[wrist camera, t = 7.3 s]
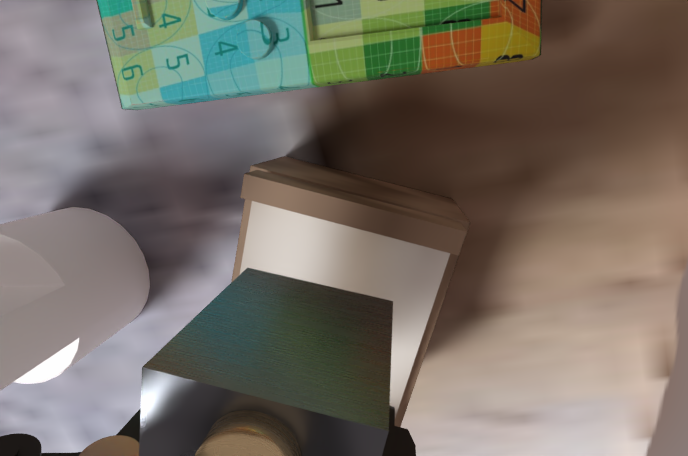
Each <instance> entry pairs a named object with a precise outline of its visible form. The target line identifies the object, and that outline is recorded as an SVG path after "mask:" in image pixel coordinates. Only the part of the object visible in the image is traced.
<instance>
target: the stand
mask: <svg viewBox="0 0 688 456" xmlns="http://www.w3.org/2000/svg"><path fill="white" fill-rule="evenodd" d="M240 198H243V199H245V203H244V209H243V215H242V221H241V227H240V234H239V240H238V246H237V252H236V258H235V264H234V270H233V276H232V282H233V281H234V280H235V279H236V278H237V277H238V276H239V275H240V274H241V273H242V272H243V271H244V270H245V269H246V268H252V269H256V270H260V271H265V272H269V273H273V274H278V275H282V276H286V277H291V278H295V279H299V280H304V281H308V282H312V283H317V284H321V285H326V286H330V287H334V288H339V289H343V290H347V291H352V292H356V293H360V294H365V295H369V296H373V297H378V298H382V299H386V300H391V301H393V320H392V349H391V378H390V406H393V407H394V408H395V426H397V427H400V426H401V423H402V420H403V417H404V414H405V411H406V409H407V406H408V403H409V400H410V397H411V394H412V391H413V388H414V385H415V382H416V379H417V376H418V374H419V371H420V368H421V365H422V362H423V359H424V356H425V353H426V350H427V347H428V344H429V341H430V339H431V336H432V333H433V330H434V327H435V324H436V321H437V318H438V315H439V312H440V309H441V306H442V304H443V301H444V298H445V295H446V292H447V289H448V286H449V283H450V280H451V277H452V274H453V271H454V268H455V266H456V263H457V260H458V257H459V254H460V251H461V248H462V245H463V242H464V239H465V236H466V233H467V231H468V228H469V225H470V221H469V220H468V219H467V218H466V216H465V215H464V214H463V212H462V211H461V210H460V208H459V207H458V206H457V204H456V203H455V202H454V200H453V199H450V198H446V197H442V196H438V195H435V194H431V193H427V192H423V191H419V190H415V189H411V188H407V187H403V186H399V185H395V184H391V183H388V182H384V181H380V180H376V179H372V178H368V177H364V176H360V175H356V174H352V173H348V172H344V171H341V170H337V169H333V168H329V167H325V166H321V165H317V164H313V163H309V162H305V161H301V160H297V159H294V158H290V157H286V156H284V157H280V158H277V159H273V160H270V161H266V162H262V163H259V164H255V165H251V166H250V172H248V173H245V174H244V178H243V185H242V191H241V197H240ZM232 282H231V283H232Z"/></svg>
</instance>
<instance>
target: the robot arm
mask: <svg viewBox="0 0 688 456" xmlns="http://www.w3.org/2000/svg"><path fill="white" fill-rule="evenodd" d="M140 415H141V408H140V410H139V411H138V412H137V413H136V414H135V415H134V416H133V417H132V418H131V419H130V421H129V422H128V423H127V424H126V425H125V426H124V427H123V428H122V429H121V430H120V432H119V433H118V434H117V435H116V436H109V437H106V438H102V439H100V440H98V441H96V442H94V443H92V444H91V445H89V446H88V447H87V448H86V449H84V450H83V451H82V452H78V453H41V444H40V442H39V440H38V439H37V438H35V437H34V436H31V435H28V434H10V435H5V436H1V437H0V456H139V441H140ZM382 456H416V450H415V444H414V442H413V439H412V437H411V435H410V433H409V431H408V429H404V428H401V427H397V426H395V408H394V407H393V406H390V407H389V432H388V435H387V439H386V443H385V447H384V450H383V454H382Z"/></svg>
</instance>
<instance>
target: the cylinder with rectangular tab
mask: <svg viewBox="0 0 688 456" xmlns="http://www.w3.org/2000/svg"><path fill="white" fill-rule="evenodd" d="M149 289H150V280H149V270H148V267H147V264H146V260H145V257H144V254H143V253H142V251H141V249H140V248H139V246H138V244H137V243H136V241H135V239H134V238H133V237H132V236H131V235H130V234H129V233H128V232H127V231H126V230H125V229H124V228H123V226H122V225H120V224H119V223H117V222H116V221H114V220H113V219H111V218H110V217H108V216H107V215H105V214H102V213H100V212H97V211H94V210H92V209H87V208H78V207H71V208H66V209H60V210H56V211H52V212H48V213H44V214H40V215H36V216H32V217H28V218H24V219H20V220H16V221H12V222H8V223H4V224H0V390H2V389H3V388H5V387H6V386H8V385H9V384H11V383H12V382H16V383H23V384H31V383H41V382H45V381H47V380H50V379H52V378H54V377H57V376H59V375H60V374H61V373H63V372H64V371H65V370H67V369H68V368H69V367H71V366H72V365H73V364H75V363H76V362H78V361H79V360H80V359H82V358H83V357H84V356H86V355H87V354H88V353H90V352H91V351H92V350H94V349H95V348H96V347H98V346H99V345H101V344H102V343H103V342H105V341H106V340H107V339H109V338H110V337H111V336H113V335H114V334H115V333H117V332H118V331H119V330H121V329H122V328H124V327H125V326H126V325H128V324H129V323H130V322H131V321H132V320H134V319H135V318H136V317H137V316H138V315H139V314H140V313H141V311H142V309H143V307H144V306H145V304H146V302H147V299H148V294H149Z"/></svg>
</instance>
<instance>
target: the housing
mask: <svg viewBox="0 0 688 456" xmlns="http://www.w3.org/2000/svg"><path fill="white" fill-rule="evenodd" d="M392 320H393V301H391V300H386V299H382V298H378V297H373V296H369V295H365V294H360V293H356V292H352V291H347V290H343V289H339V288H334V287H330V286H326V285H321V284H317V283H312V282H308V281H304V280H299V279H295V278H291V277H286V276H282V275H278V274H273V273H269V272H265V271H260V270H256V269H252V268H246V269H245V270H244V271H243V272H242V273H241V274H240V275H239V276H238V277H237V278H236V279H235V280H234V281H233V282H232V283H231V284H230V285H229V286H227V287H226V288H225V289H224V290H223V291H222V292H221V293H220V294H219V295H218V296H217V297H216V298H215V299H214V300H213V301H212V302H211V303H210V304H209V305H207V306H206V307H205V308H204V309H203V310H202V311H201V312H200V313H199V314H198V315H197V316H196V317H195V318H194V319H193V320H192V321H191V322H190V323H188V324H187V325H186V326H185V327H184V328H183V329H182V330H181V331H180V332H179V333H178V334H177V335H176V336H175V337H174V338H173V339H172V340H171V341H169V342H168V343H167V344H166V345H165V346H164V347H163V348H162V349H161V350H160V351H159V352H158V353H157V354H156V355H155V356H154V357H153V358H152V359H150V360H149V361H148V362H147V363H146V364H145V365H144V366H143V367H142V389H141V415H140V441H139V456H382V454H383V450H384V447H385V443H386V439H387V435H388V432H389V407H390V378H391V349H392Z"/></svg>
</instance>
